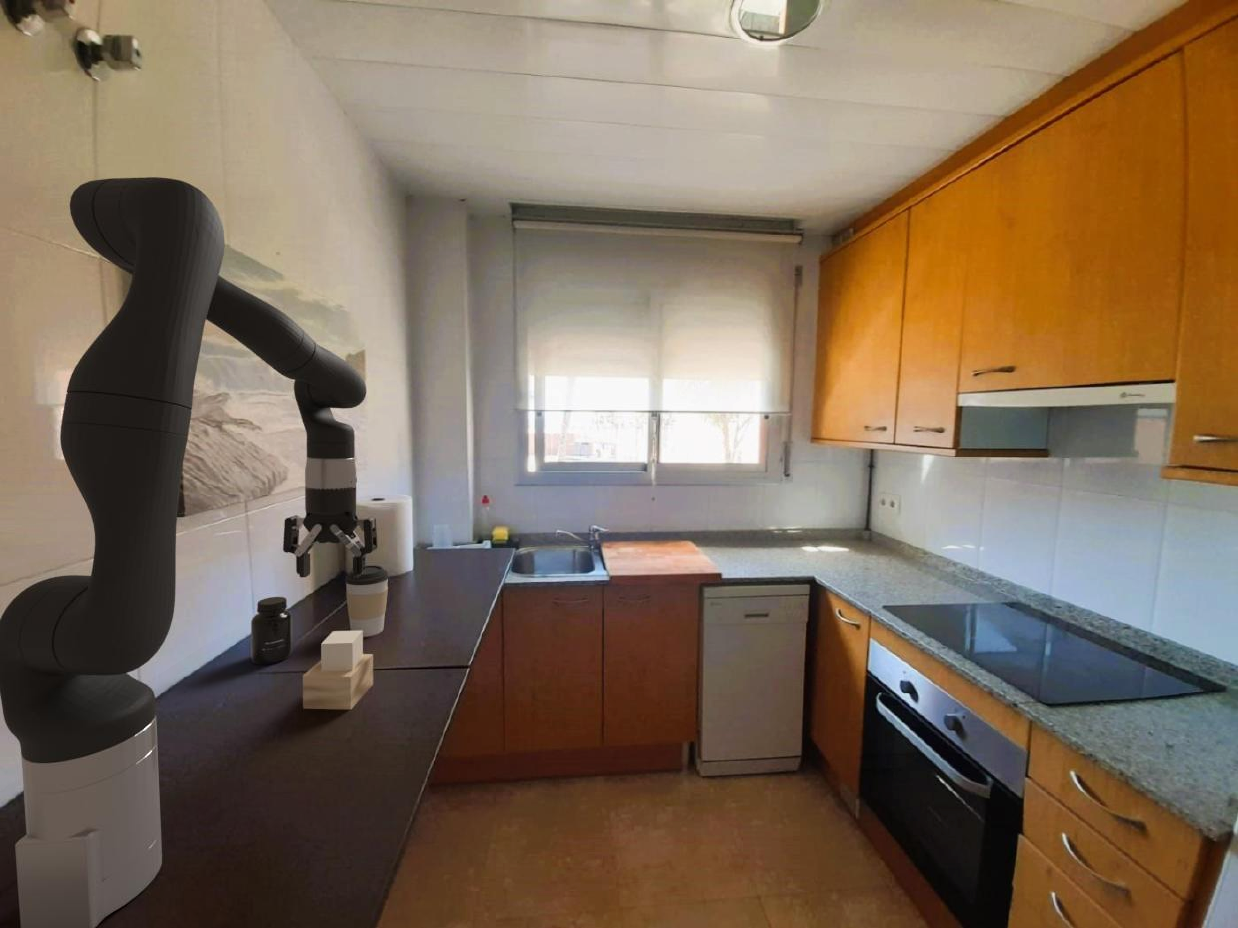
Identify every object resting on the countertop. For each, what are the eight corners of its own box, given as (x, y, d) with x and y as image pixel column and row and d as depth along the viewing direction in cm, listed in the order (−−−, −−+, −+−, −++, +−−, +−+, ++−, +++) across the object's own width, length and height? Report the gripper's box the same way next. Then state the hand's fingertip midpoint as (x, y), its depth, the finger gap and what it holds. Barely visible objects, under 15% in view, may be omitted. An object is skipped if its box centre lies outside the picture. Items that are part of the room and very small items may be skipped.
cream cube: (352, 670, 84) (352, 642, 83) (321, 671, 83) (321, 643, 82) (362, 656, 89) (362, 630, 88) (333, 657, 88) (333, 631, 87)
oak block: (350, 710, 82) (350, 676, 82) (303, 709, 82) (302, 675, 81) (373, 684, 90) (373, 654, 90) (329, 683, 90) (329, 653, 89)
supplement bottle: (271, 667, 94) (270, 608, 93) (242, 663, 95) (241, 604, 94) (300, 651, 101) (300, 596, 100) (273, 647, 102) (272, 592, 101)
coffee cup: (395, 623, 117) (395, 562, 115) (378, 639, 108) (378, 574, 106) (357, 622, 116) (357, 561, 115) (337, 638, 107) (336, 573, 106)
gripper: (273, 485, 77) (274, 583, 79) (366, 487, 79) (366, 583, 81) (298, 480, 85) (298, 569, 86) (382, 482, 87) (382, 570, 88)
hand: (331, 576), depth 83 cm, fingers open, 8 cm apart
